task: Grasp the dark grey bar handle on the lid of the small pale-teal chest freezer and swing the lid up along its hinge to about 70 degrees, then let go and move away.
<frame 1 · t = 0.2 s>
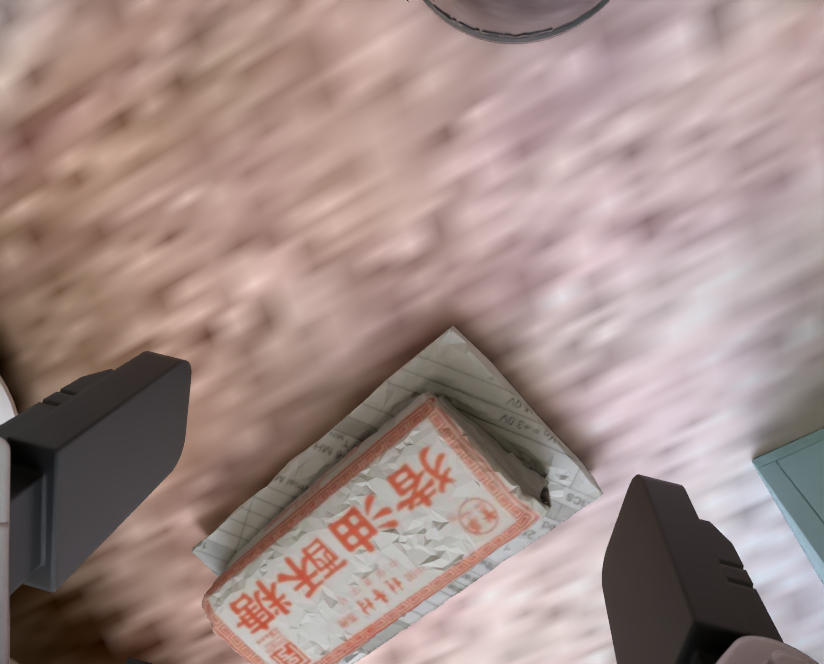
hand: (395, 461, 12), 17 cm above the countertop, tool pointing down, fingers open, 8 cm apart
packaged product: (388, 506, 33), on the countertop
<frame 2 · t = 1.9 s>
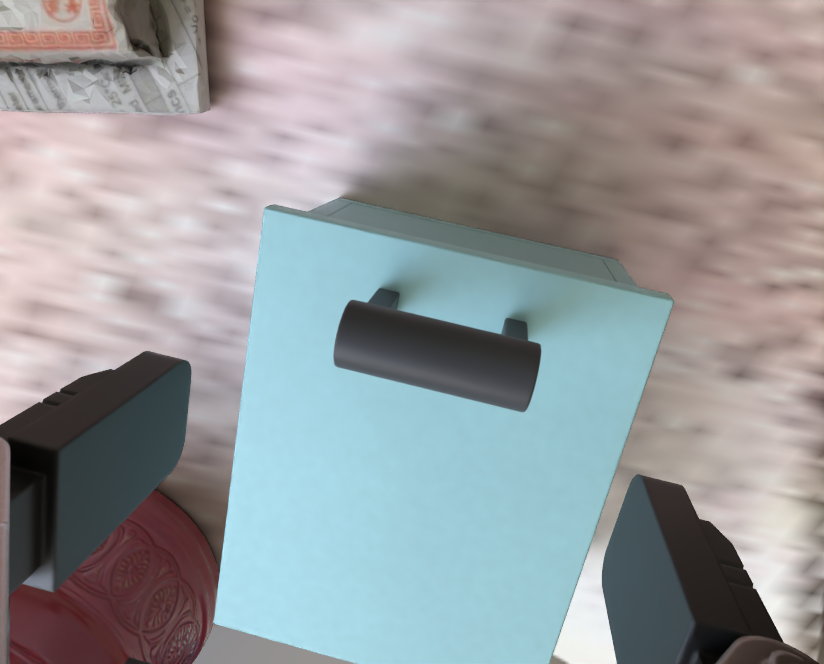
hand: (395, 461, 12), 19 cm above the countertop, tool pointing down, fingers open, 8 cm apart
freezer: (439, 387, 32), on the countertop
freezer lid: (402, 517, 21), point 12 cm above the countertop, hinge at 0.0°
kitchen canister: (120, 564, 38), on the countertop
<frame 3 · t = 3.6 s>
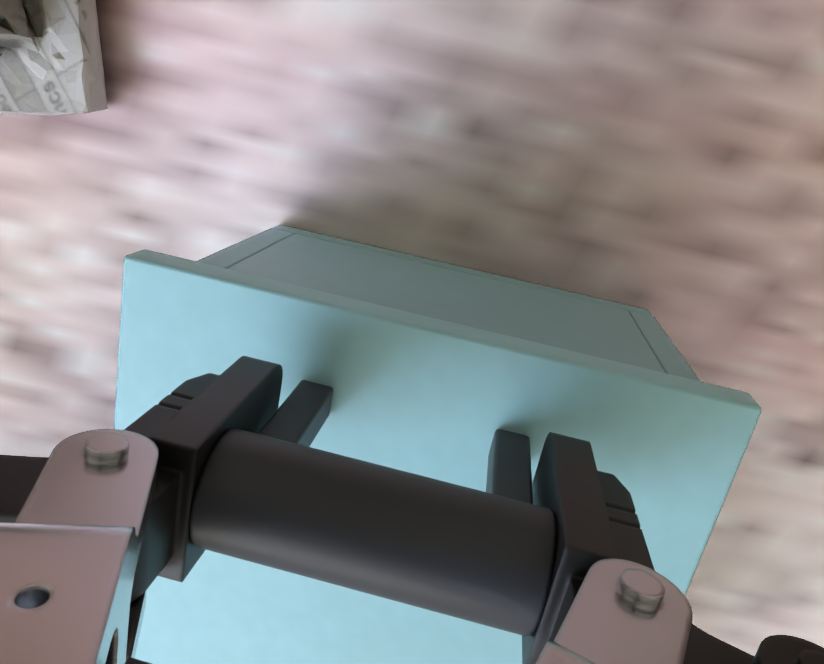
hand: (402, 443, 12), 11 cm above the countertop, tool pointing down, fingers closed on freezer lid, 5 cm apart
freezer: (413, 467, 25), on the countertop
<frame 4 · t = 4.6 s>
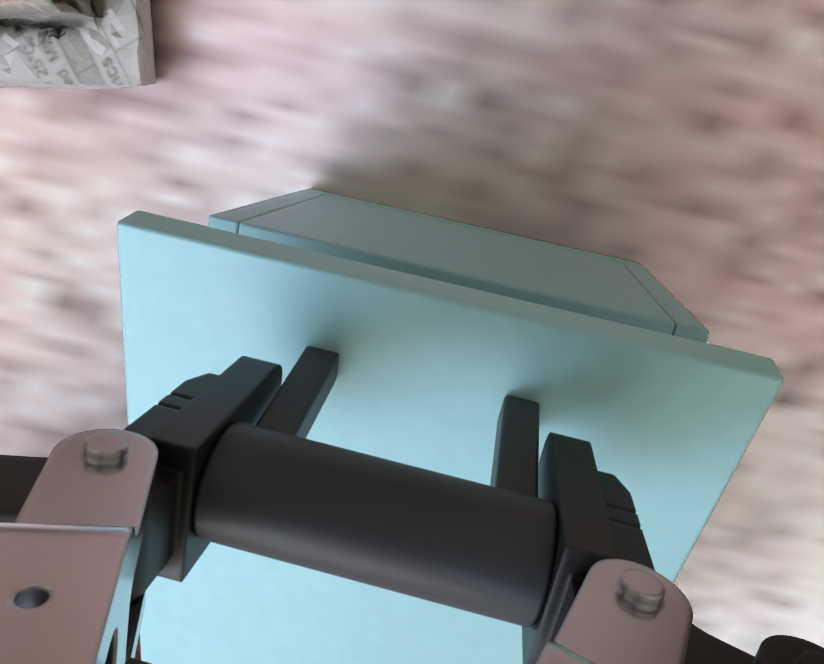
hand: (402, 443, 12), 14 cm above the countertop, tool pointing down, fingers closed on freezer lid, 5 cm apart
freezer: (427, 412, 27), on the countertop
freezer lid: (355, 663, 15), point 13 cm above the countertop, hinge at 11.9°, touching gripper
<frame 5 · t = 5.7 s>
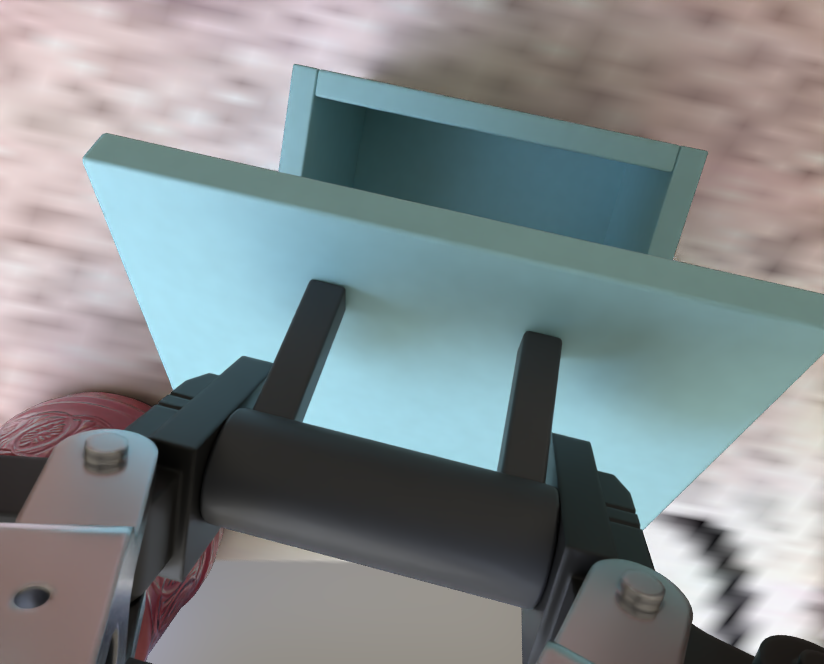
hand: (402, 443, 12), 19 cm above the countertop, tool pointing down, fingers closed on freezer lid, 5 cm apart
freezer: (459, 290, 30), on the countertop
freezer lid: (389, 533, 16), point 16 cm above the countertop, hinge at 35.8°, touching gripper
kitchen canister: (120, 494, 36), on the countertop
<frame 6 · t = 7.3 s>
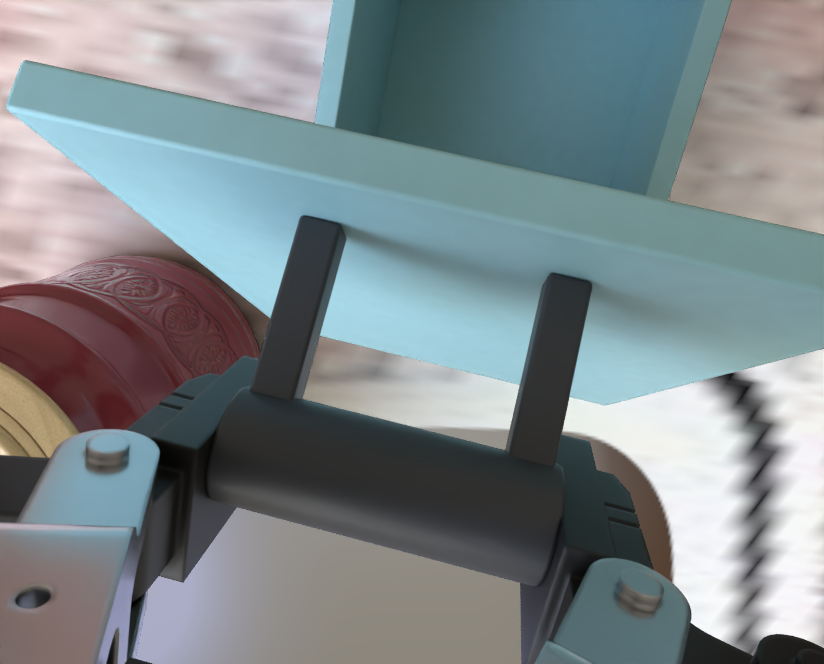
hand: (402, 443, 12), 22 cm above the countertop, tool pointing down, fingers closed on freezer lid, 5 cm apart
freezer: (496, 141, 31), on the countertop
freezer lid: (423, 398, 16), point 18 cm above the countertop, hinge at 63.0°, touching gripper
kitchen canister: (160, 364, 37), on the countertop
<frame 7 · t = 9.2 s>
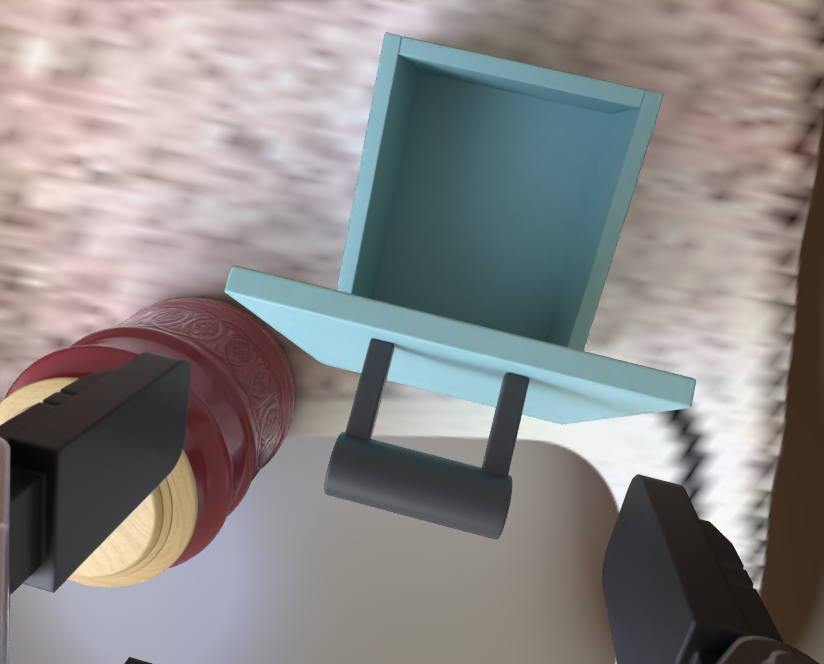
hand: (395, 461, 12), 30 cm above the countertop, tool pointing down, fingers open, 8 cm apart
freezer: (484, 214, 40), on the countertop
freezer lid: (432, 427, 25), point 18 cm above the countertop, hinge at 63.6°
kitchen canister: (210, 383, 46), on the countertop
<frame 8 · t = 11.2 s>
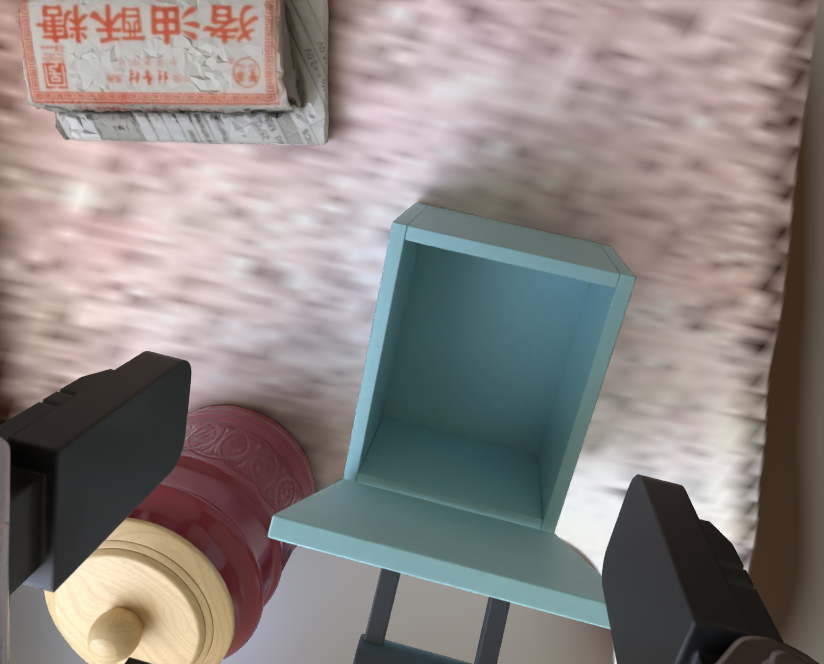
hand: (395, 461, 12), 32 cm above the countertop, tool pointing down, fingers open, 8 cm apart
freezer: (483, 338, 44), on the countertop
freezer lid: (435, 586, 30), point 18 cm above the countertop, hinge at 63.6°
packaged product: (193, 60, 42), on the countertop
kitchen canister: (237, 477, 51), on the countertop
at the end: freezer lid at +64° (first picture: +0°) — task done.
